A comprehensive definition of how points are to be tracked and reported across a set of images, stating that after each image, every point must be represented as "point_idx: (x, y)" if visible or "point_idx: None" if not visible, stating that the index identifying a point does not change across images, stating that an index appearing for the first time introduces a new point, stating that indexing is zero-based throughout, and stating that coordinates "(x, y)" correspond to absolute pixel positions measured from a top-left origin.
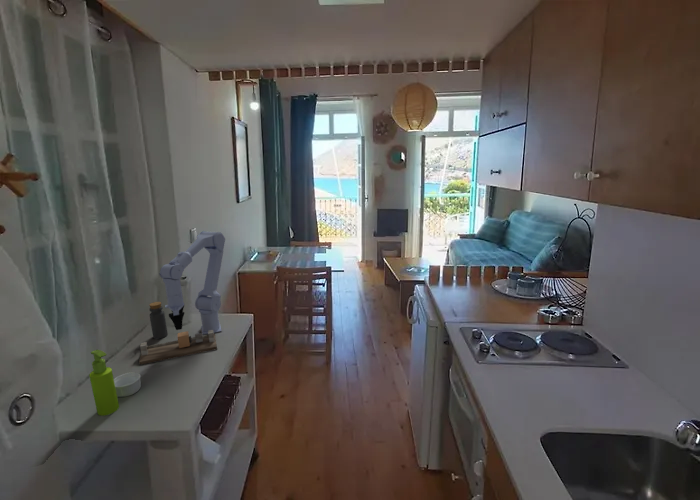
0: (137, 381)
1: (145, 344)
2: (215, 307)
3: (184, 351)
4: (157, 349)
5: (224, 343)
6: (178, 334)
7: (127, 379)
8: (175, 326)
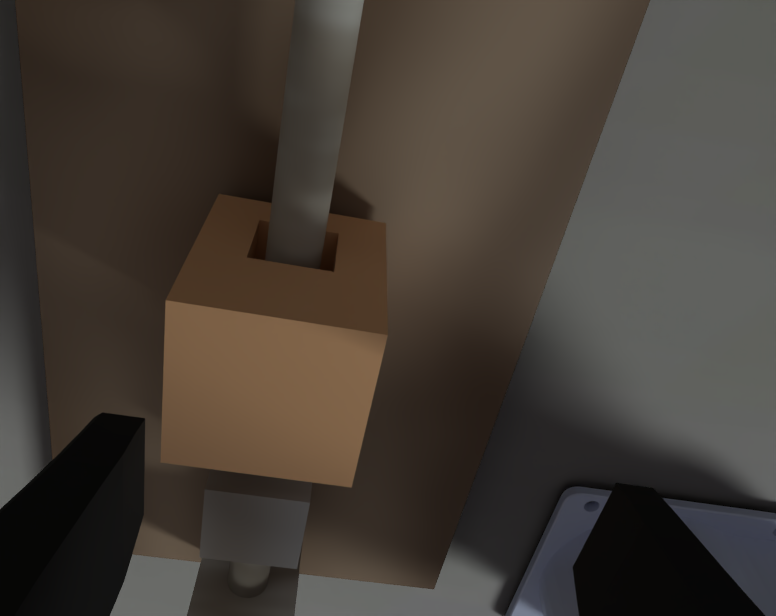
0: None
1: None
2: None
3: (87, 235)
4: None
5: (186, 585)
6: (299, 336)
7: None
8: (28, 495)
